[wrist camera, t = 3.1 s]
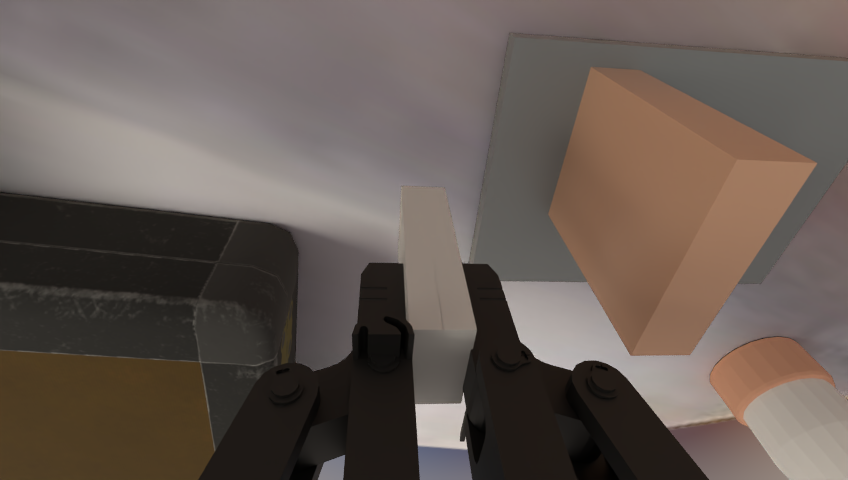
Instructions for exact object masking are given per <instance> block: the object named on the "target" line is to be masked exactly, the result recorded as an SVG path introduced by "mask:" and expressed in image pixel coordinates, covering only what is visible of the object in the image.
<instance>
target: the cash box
mask: <svg viewBox="0 0 848 480" xmlns="http://www.w3.org/2000/svg"><path fill="white" fill-rule="evenodd" d="M297 289H298V248H297V246H296V244H295V242H294V240H293V237H292V235H291V233H290V232H288V231H286V230H283V229H281V228H279V227H277V226H274V225H272V224H268V223H260V222H251V221H242V220H235V219H226V218H217V217H209V216H200V215H191V214H182V213H174V212H165V211H156V210H148V209H139V208H130V207H121V206H113V205H104V204H95V203H87V202H78V201H69V200H60V199H52V198H43V197H34V196H26V195H17V194H8V193H0V480H198V479H199V478H200V476H201V474H202V472H203V471H204V469H205V467H206V466H207V464H208V462H209V461H210V459H211V457H212V455H213V454H214V452H215V450H216V449H217V447H218V445H219V444H220V442H221V440H222V439H223V437H224V435H225V433H226V432H227V430H228V428H229V427H230V425H231V423H232V422H233V420H234V418H235V416H236V415H237V413H238V411H239V410H240V408H241V406H242V405H243V403H244V401H245V400H246V398H247V396H248V394H249V393H250V391H251V389H252V388H253V386H254V384H255V383H256V381H257V380H258V379H259V378H260V377H261V376H262V374H263V373H265V372H266V371H268V370H270V369H271V368H273V367H275V366H278V365H282V364H285V363H295V352H296V320H297Z"/></svg>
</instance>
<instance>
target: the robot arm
mask: <svg viewBox="0 0 848 480" xmlns="http://www.w3.org/2000/svg"><path fill="white" fill-rule="evenodd" d="M352 346H353V350H352V352H351V353H350V354H349V355H348V356H347V357H346V358H345V359H344V360H343V361H341V362H339V363H338V364H336V365H333V366H331V367H328V368H324V369H321V370H317V371H314V372H313V371H312V370H311V369H310V368H309V367H307V366H304V365H302V364H299V363H285V364H282V365H278V366H275V367H273V368H271V369H270V370H268V371H266V372H265V373H263V374H262V376H261V377H260V378H259V379H258V380H257V381H256V383H255V384H254V386H253V388H252V389H251V391H250V393H249V394H248V396H247V398H246V400H245V401H244V403H243V405H242V406H241V408H240V410H239V411H238V413H237V415H236V416H235V418H234V420H233V422H232V423H231V425H230V427H229V428H228V430H227V432H226V433H225V435H224V437H223V439H222V440H221V442H220V444H219V445H218V447H217V449H216V450H215V452H214V454H213V455H212V457H211V459H210V461H209V462H208V464H207V466H206V467H205V469H204V471H203V472H202V474H201V476H200V478H199V479H198V480H318V477H319V474H320V472H321V469H322V466H323V463H324V462H326V461H329V460H331V459H334V458H337V457H340V456H342V455H345V466H344V478H343V480H420V479H419V478H420V477H419V461H418V445H417V428H416V412H415V404H449V403H461V401H462V396H463V392H464V397H465V403H466V411H465V416H464V420H463V424H462V428H461V433H460V441H465V436H466V441H467V448H468V454H469V461H470V466H471V473H472V479H473V480H709V479H708V478H707V477H706V475H705V474H704V473H703V472H702V471H701V469H700V468H699V467H698V466H697V464H696V463H695V462H694V461H693V459H692V458H691V457H690V456H689V454H688V453H687V452H686V451H685V450H684V448H683V447H682V446H681V445H680V444H679V442H678V441H677V440H676V439H675V437H674V436H673V435H672V434H671V433H670V431H669V430H668V429H667V427H666V426H665V425H664V424H663V423H662V421H661V420H660V419H659V418H658V416H657V415H656V414H655V413H654V411H653V410H652V409H651V408H650V407H649V405H648V404H647V403H646V402H645V400H644V399H643V398H642V397H641V396H640V394H639V393H638V392H637V391H636V389H635V388H634V387H633V386H632V384H631V383H630V382H629V381H628V380H627V378H626V377H625V376H624V375H622V374H621V373H620V372H619V371H618V370H617V369H615V368H613V367H612V366H610V365H608V364H606V363H602V362H599V361H583V362H581V363H579V364H577V365H576V366H575V368H574V370H573V371H571V370H568V369H564V368H560V367H557V366H553V365H549V364H547V363H544V362H541V361H540V360H538V359H536V358H535V357H534V356H533V354H532V352H531V351H530V350H529V349H528V348H527V347H526V346H525V345H524V344H522V343H521V342H520V340H519V338H518V334H517V331H516V328H515V325H514V322H513V319H512V316H511V313H510V310H509V307H508V304H507V301H506V298H505V295H504V292H503V290H502V285H501V282H500V279H499V276H498V275H497V273H496V272H495V271H494V270H493V269H492V268H491V267H490V266H489V265H488V264H465V263H462V262H461V257H460V253H459V248H458V244H457V240H456V235H455V231H454V226H453V222H452V218H451V213H450V209H449V204H448V200H447V196H446V191H445V188H443V187H417V186H401V203H400V221H399V239H398V263H369V264H368V265H367V267H366V268H365V270H364V271H363V272H362V274H361V285H360V297H359V310H358V323H357V324H356V325H355V328H354V331H353V334H352Z"/></svg>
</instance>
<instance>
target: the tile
mask: <svg viewBox="0 0 848 480" xmlns="http://www.w3.org/2000/svg"><path fill="white" fill-rule="evenodd" d="M816 165H817V163H816V162H814V161H813V160H811V159H809V158H807V157H805V156H803V155H801V154H799V153H797V152H795V151H793V150H792V149H790V148H788V147H786V146H784V145H782V144H780V143H778V142H776V141H774V140H772V139H771V138H769V137H767V136H765V135H763V134H761V133H759V132H757V131H755V130H753V129H752V128H750V127H748V126H746V125H744V124H742V123H740V122H738V121H736V120H734V119H732V118H731V117H729V116H727V115H725V114H723V113H721V112H719V111H717V110H715V109H713V108H711V107H710V106H708V105H706V104H704V103H702V102H700V101H698V100H696V99H694V98H692V97H691V96H689V95H687V94H685V93H683V92H681V91H679V90H677V89H675V88H673V87H671V86H670V85H668V84H666V83H664V82H662V81H660V80H658V79H656V78H654V77H652V76H650V75H649V74H647V73H645V72H643V71H641V70H632V69H617V68H602V67H591V68H590V72H589V75H588V79H587V82H586V86H585V89H584V93H583V96H582V100H581V103H580V106H579V110H578V113H577V117H576V120H575V124H574V127H573V131H572V134H571V137H570V141H569V144H568V148H567V151H566V155H565V158H564V162H563V165H562V169H561V172H560V175H559V179H558V182H557V186H556V189H555V193H554V196H553V200H552V203H551V207H550V210H549V213H548V215H549V217H550V219H551V220H552V222H553V224H554V225H555V227H556V229H557V230H558V232H559V234H560V236H561V237H562V239H563V241H564V242H565V244H566V246H567V248H568V249H569V251H570V253H571V254H572V256H573V258H574V260H575V261H576V263H577V265H578V266H579V268H580V270H581V272H582V273H583V275H584V277H585V278H586V280H587V282H588V283H589V285H590V287H591V289H592V290H593V292H594V294H595V295H596V297H597V299H598V301H599V302H600V304H601V306H602V307H603V309H604V311H605V313H606V314H607V316H608V318H609V319H610V321H611V323H612V324H613V326H614V328H615V330H616V331H617V333H618V335H619V336H620V338H621V340H622V342H623V343H624V345H625V347H626V348H627V350H628V352H629V354H630V355H631V356H640V355H690V354H691V353H692V351H693V350H694V348H695V347H696V345H697V344H698V342H699V341H700V339H701V338H702V336H703V335H704V333H705V332H706V330H707V328H708V327H709V325H710V324H711V322H712V321H713V319H714V318H715V316H716V315H717V313H718V312H719V310H720V309H721V307H722V306H723V304H724V303H725V301H726V300H727V298H728V297H729V295H730V294H731V292H732V291H733V289H734V288H735V286H736V285H737V283H738V282H739V280H740V279H741V277H742V276H743V274H744V273H745V271H746V270H747V268H748V267H749V265H750V264H751V262H752V261H753V259H754V258H755V256H756V255H757V253H758V252H759V250H760V249H761V247H762V246H763V244H764V243H765V241H766V240H767V238H768V237H769V235H770V234H771V232H772V231H773V229H774V228H775V226H776V225H777V223H778V222H779V220H780V219H781V217H782V216H783V214H784V213H785V211H786V210H787V208H788V207H789V205H790V204H791V202H792V201H793V199H794V198H795V196H796V195H797V193H798V192H799V190H800V189H801V187H802V186H803V184H804V183H805V181H806V180H807V178H808V177H809V175H810V174H811V172H812V171H813V169H814V168H815V166H816Z"/></svg>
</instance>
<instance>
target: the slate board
mask: <svg viewBox="0 0 848 480" xmlns="http://www.w3.org/2000/svg"><path fill="white" fill-rule="evenodd" d="M591 67H602V68H617V69H632V70H641V71H643V72H645V73H647V74H649V75H650V76H652V77H654V78H656V79H658V80H660V81H662V82H664V83H666V84H668V85H670V86H671V87H673V88H675V89H677V90H679V91H681V92H683V93H685V94H687V95H689V96H691V97H692V98H694V99H696V100H698V101H700V102H702V103H704V104H706V105H708V106H710V107H711V108H713V109H715V110H717V111H719V112H721V113H723V114H725V115H727V116H729V117H731V118H732V119H734V120H736V121H738V122H740V123H742V124H744V125H746V126H748V127H750V128H752V129H753V130H755V131H757V132H759V133H761V134H763V135H765V136H767V137H769V138H771V139H772V140H774V141H776V142H778V143H780V144H782V145H784V146H786V147H788V148H790V149H792V150H793V151H795V152H797V153H799V154H801V155H803V156H805V157H807V158H809V159H811V160H813V161H814V162H816V163H817V165H816V166H815V168H814V169H813V171H812V172H811V174H810V175H809V177H808V178H807V180H806V181H805V183H804V184H803V186H802V187H801V189H800V190H799V192H798V193H797V195H796V196H795V198H794V199H793V201H792V202H791V204H790V205H789V207H788V208H787V210H786V211H785V213H784V214H783V216H782V217H781V219H780V220H779V222H778V223H777V225H776V226H775V228H774V229H773V231H772V232H771V234H770V235H769V237H768V238H767V240H766V241H765V243H764V244H763V246H762V247H761V249H760V250H759V252H758V253H757V255H756V256H755V258H754V259H753V261H752V262H751V264H750V265H749V267H748V268H747V270H746V271H745V273H744V274H743V276H742V277H741V279H740V280H739V282H738V283H737V284H761V283H762V282H763V280H764V279H765V277H766V276H767V274H768V273H769V272H770V270H771V269H772V267H773V266H774V265H775V263H776V262H777V260H778V259H779V258H780V256H781V255H782V253H783V252H784V250H785V249H786V248H787V246H788V245H789V243H790V242H791V241H792V239H793V238H794V236H795V235H796V234H797V232H798V231H799V229H800V228H801V226H802V225H803V224H804V222H805V221H806V219H807V218H808V217H809V215H810V214H811V212H812V211H813V210H814V208H815V207H816V205H817V204H818V202H819V201H820V200H821V198H822V197H823V195H824V194H825V193H826V191H827V190H828V188H829V187H830V186H831V184H832V183H833V181H834V180H835V178H836V177H837V176H838V174H839V173H840V171H841V170H842V169H843V167H844V166H845V164H846V163H847V161H848V58H842V57H828V56H814V55H801V54H787V53H774V52H760V51H747V50H733V49H720V48H706V47H692V46H679V45H665V44H652V43H638V42H625V41H611V40H598V39H584V38H570V37H557V36H543V35H530V34H516V33H509V39H508V45H507V50H506V56H505V62H504V67H503V73H502V79H501V84H500V90H499V96H498V101H497V107H496V113H495V118H494V124H493V130H492V135H491V141H490V147H489V152H488V158H487V163H486V169H485V175H484V180H483V186H482V192H481V197H480V203H479V209H478V214H477V220H476V226H475V231H474V237H473V243H472V248H471V254H470V260H469V264H488V265H489V266H490V267H491V268H492V269H493V270H494V271H495V272H496V273H497V275H498V276H499V279H500V281H549V282H587V280H586V278H585V277H584V275H583V273H582V272H581V270H580V268H579V266H578V265H577V263H576V261H575V260H574V258H573V256H572V254H571V253H570V251H569V249H568V248H567V246H566V244H565V242H564V241H563V239H562V237H561V236H560V234H559V232H558V230H557V229H556V227H555V225H554V224H553V222H552V220H551V219H550V217H549V215H548V213H549V210H550V207H551V203H552V200H553V196H554V193H555V189H556V186H557V182H558V179H559V175H560V172H561V169H562V165H563V162H564V158H565V155H566V151H567V148H568V144H569V141H570V137H571V134H572V131H573V127H574V124H575V120H576V117H577V113H578V110H579V106H580V103H581V100H582V96H583V93H584V89H585V86H586V82H587V79H588V75H589V72H590V68H591Z"/></svg>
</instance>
